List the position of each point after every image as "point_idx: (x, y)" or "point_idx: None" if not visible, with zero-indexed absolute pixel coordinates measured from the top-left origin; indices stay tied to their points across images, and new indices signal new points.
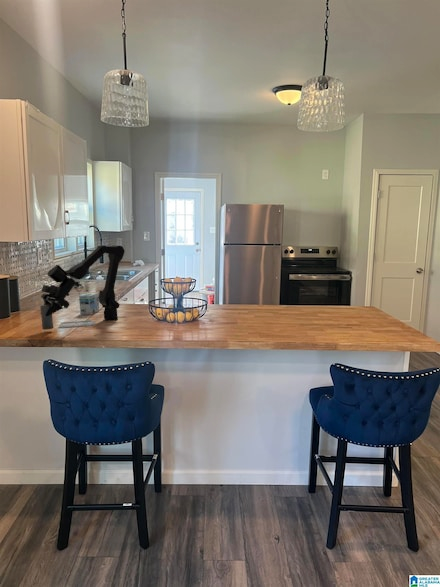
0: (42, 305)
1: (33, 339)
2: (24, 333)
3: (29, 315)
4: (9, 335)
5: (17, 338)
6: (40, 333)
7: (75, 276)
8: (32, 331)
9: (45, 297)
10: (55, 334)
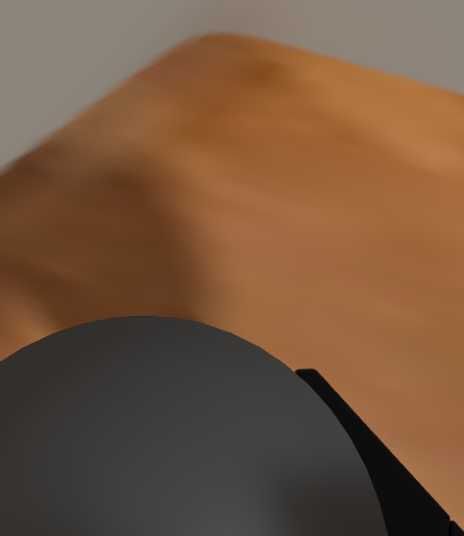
0: (272, 457)
1: (11, 178)
2: (320, 204)
3: None
4: (343, 89)
5: (173, 98)
6: (192, 315)
7: None
8: (348, 289)
9: None
10: None
